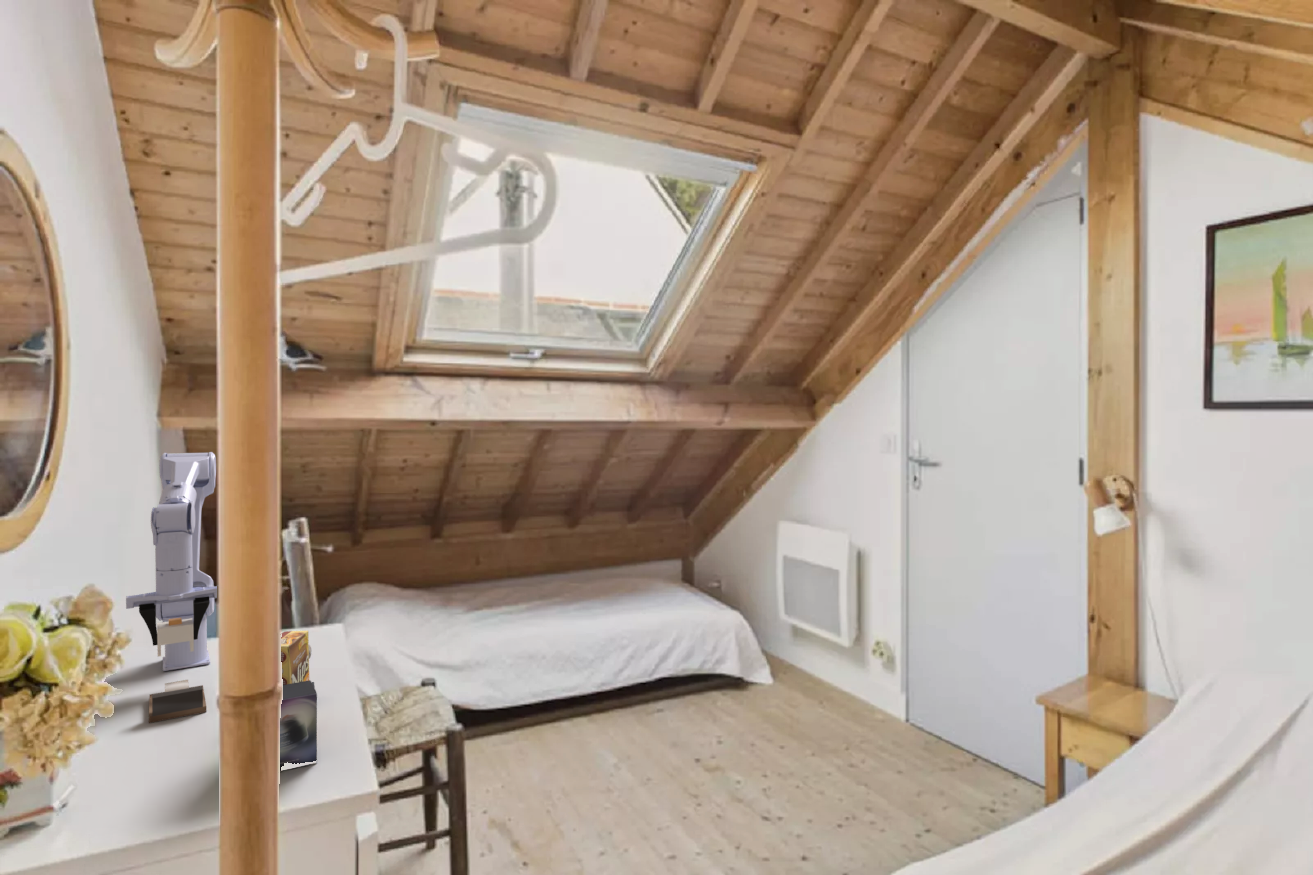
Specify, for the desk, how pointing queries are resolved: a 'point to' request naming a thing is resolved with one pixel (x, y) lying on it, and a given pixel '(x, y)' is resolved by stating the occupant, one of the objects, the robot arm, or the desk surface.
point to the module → (175, 632)
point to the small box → (298, 723)
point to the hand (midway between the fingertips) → (175, 641)
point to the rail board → (176, 701)
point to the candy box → (295, 656)
